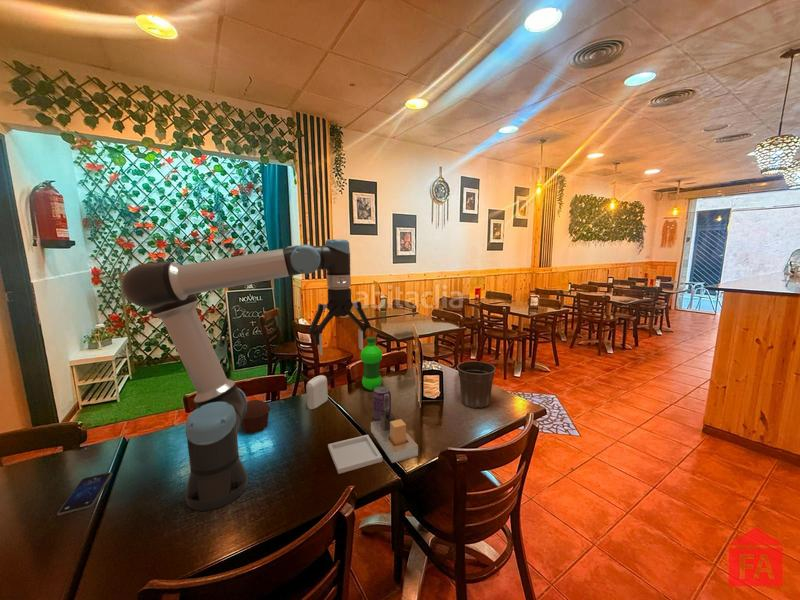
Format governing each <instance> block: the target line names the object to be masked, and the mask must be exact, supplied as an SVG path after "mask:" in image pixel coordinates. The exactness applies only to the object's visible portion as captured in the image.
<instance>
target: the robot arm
mask: <svg viewBox="0 0 800 600" xmlns="http://www.w3.org/2000/svg"><path fill="white" fill-rule="evenodd" d="M350 251H351V248H350V242H349V241H348V240H347V239H342V238H341V239H339V238H338V239H336V238H335V239H333V238H332V239H326V240H325V244H324V245H311V244H300V245H289V246H287V247H285V248H279V249H273V250H266V251H262V252H261V251H260V252H254V253H250V254H243V255H238V256H237V255H236V256H230V257H225V258H224V257H223V258H218V259H213V260H207V261H201V262H195V263H189V264H187V263H186V264H180V263H177V262H173V261H164V260H163V261H159V262H146V263H141V264H138V265H134V267H132V268H130V269H129V270H127V272H126V273H125V274H124V276H123V278H122V281H121V290H122V293H123V294H124V296H125V298H126V299H127V300H128V301H129V302H130V303H132V304H133V305H135V306H137V307H140V308H143V309H149V310H150V312H151V314H152V316H153V317H155V318H159V319H161V321H162V322H163V325H164V327H165V329H166V331H167V333H168V335H169V337H170V340H171V341H172V343H173V345H174V347H175V349H176V352H177V353H178V355H179V358H180V360H181V363H182V364H183V367H184V369H185V371H186V373H187V374H188V377H189V379H190V381H191V383H192V385H193V387H194V390H195V391H196V395H195V397H194V399H193V403H195V406H196V408H195V409H194V410H193V411H192V412H191V413H190V414H189V415H188V416H187V419H186V421H185V437H186V441H187V449H188V450H187V451H188V458H189V467H190V473H189V477H188V481H187V485H186V489H185V493H184V494H185V495H184V497H185V503H186V505H187V507H188V508H189V509H192V510H194V511H200V512H202V511H203V512H204V511H210V510H216V509H218V508H222V507H224V506H226V505H229V504H230V503H232V502H233V501H235V500H236V499H238V498H239V497H240V496H241V495H242V494H243V493H244V492H245V490H246V489H247V487H248V483H249V479H248V478H249V477H248V472H247V470H246V468H245V466H244V465H243V462H242V461H241V459H240V455H239V454H240V453H239V443H238V440H239V439H238V433H239V430H240V429H241V423H242V421H243V418H244V416H245V414H246V410H247V402H248V399H247V396H246V394H245V392H244V391H243V390H242V389H241V388H239V387H237V385H236V382H235V380H233V379H230V378H229V379H228V378H227V376H226V374H225V372H224V369H223V366H222V365H221V362H220V360H219V358H218V356H217V353H216V350H215V349H214V347H213V344H212V343H211V340H210V338H209V335H208V334H207V331H206V329H205V327H204V325H203V322H202V320H201V318H200V316H199V313H198V312H197V308H196V306H197V305H198V303H199V299H198V297H197V295H196V294H201V293H207V292H212V291H216V290H223V289H227V288H233V287H238V286H242V285H243V286H244V285H250V284H253V283H261V282H264V281H270V280H275V279H281V278H287V277H291V276H299V275H303V274H304V275H308V274H313V273H315V272H316V271H320V270H321V271H323V270H324V271H325V270H326V284H327V285H326V287H328V289H327V304H326V303H325V304H323V303H318V304H317V310H316V313H315V315H314V318H313V319H312V322H311V324H310V326H309V329H308V333H309V334H310V335H314V343H315V345H316V346H317V347H318V355H320V356H323V354H324V353H323V352H324V351H323V334H321V333H322V332H323V330H324V329H325V327H326V326H327V325H328V324H329V323H330V321H331V320H332V319H333V318H334V317H335V318H339V317H346V316H348V317H349V318H350V319H351V320H352V321H353V322H354V323H355V324H356V325H357V326H358V327H359V328H360V329H358V330H357V332H358V333H357V334H358V337H357V338H358V349H359V350H360V351H362V350H363V349H364V340H366V339H367V337H366V334H367V333H366V332H367V330H368V329H371V327H372V326H371V324H370V321H369V319H368V317H367V315H366V313H365V312H364V310H363V308H362V303H361V301H360V300H356V301H354V302H352V289H351V288H350V287H351V286H352V283H351V282H352V280H351V279H352V277H351V252H350ZM353 307H354V308H355V309H356V311H357V313H358V315H359V316H360V318H361V321H362V322H363V323H362V322H361V321H360V320H359V319H358V318H357V317H356V316H355V314H354V313H353V312H352V311H351V310H352V308H353ZM326 309H327V310H328V312H327V313H326V315H325V317H324V318H323V319H322V321H321V322H320V319H321V317H322V314H323V313H324V311H325V310H326ZM319 322H320V323H319Z"/></svg>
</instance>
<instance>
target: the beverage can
mask: <svg viewBox="0 0 800 600" xmlns="http://www.w3.org/2000/svg"><path fill="white" fill-rule="evenodd" d="M386 409H390V413H392V394H391V390H390V387H388V386H382V385H381V386H380V387H376V388H375V389H374V390H373V393H372V416H373V420H375V421H379V420H381V416H380V415H382V414H386Z"/></svg>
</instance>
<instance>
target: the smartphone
mask: <svg viewBox="0 0 800 600" xmlns="http://www.w3.org/2000/svg"><path fill="white" fill-rule="evenodd" d="M112 476H113V472H110V471H109V472H106V473H101V474H95V475H92V476H88V477H84V478H83V479H81V480H80V482H79V483H78V484H76V487H75V488H74V490H72V492H71V494H70V495H69V496H68V498H67V499H66V501H64V503H63V505H62V506H61V507H60V509H59V510H58V512H57V513H56V515H57V516H58V517H60V516H61V517H62V516H64V515H69V514H72V513H74V512H81V511H84V510H88V509H91V508H92V507H94V505H95V504H96V502H97V501H98V499H99V497H100V496H101V494H102V493H103V492H104V489H105V488H106V487H107V484H108V483H109V482H110V480H111V478H112Z"/></svg>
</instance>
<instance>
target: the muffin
mask: <svg viewBox="0 0 800 600" xmlns="http://www.w3.org/2000/svg"><path fill="white" fill-rule="evenodd" d="M270 411H271V406H270V404H268V403H267V402H266V401H264V400H261V399H251V400H249V401H248V400H247V410H246V414H245V416H244V418H243V421H242V423H241V426H240V428H241V431H243V432H244V433H245V434H256V433H259V432H262V431H264V430H265V429H266V428H268V423H269V414H270Z"/></svg>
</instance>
